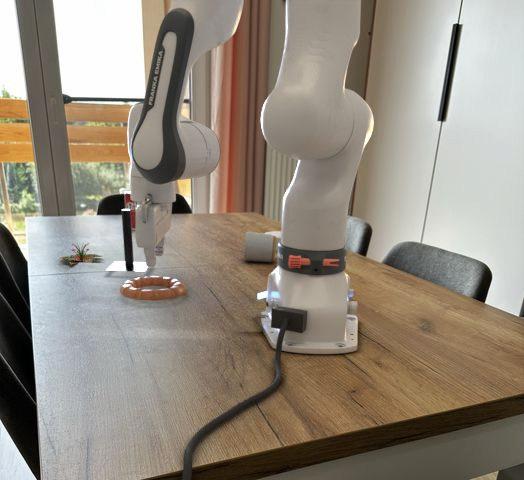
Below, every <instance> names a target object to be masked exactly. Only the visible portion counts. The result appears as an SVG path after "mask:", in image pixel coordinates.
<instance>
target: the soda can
mask: <svg viewBox="0 0 524 480" xmlns="http://www.w3.org/2000/svg"><path fill="white" fill-rule="evenodd" d="M123 195H124V197H123V198H124V209H129V210H131V226H132V231H136V209H137V207H138V206H137V205H138V204H137V202H135V201H132V200H131V195H130V190H127V191H124V194H123Z"/></svg>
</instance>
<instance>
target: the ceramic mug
mask: <svg viewBox="0 0 524 480" xmlns="http://www.w3.org/2000/svg"><path fill="white" fill-rule="evenodd" d="M245 234H246V235H245V240H244V250H243V260H244V261H245V262H257V263H258V262H259V263H273V262H275V260H276V256H277V251H276V245H277V238H276V236H273V235H270V234H265V233H261V232H254V231H247V232H246V233H245Z"/></svg>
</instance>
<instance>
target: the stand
mask: <svg viewBox="0 0 524 480" xmlns="http://www.w3.org/2000/svg"><path fill="white" fill-rule="evenodd" d="M121 224H122V225H121V227H122V237H123V238H122V240H123V257H124V261H118V260H117V261H116V260H114V262H112V263H111V265H109V266H108V267H107V268H106V269H105V271H108V272H135V273H136V272H138V273H146V271H147V270H148V269H149V267H147V266H146V261H145V262H144V261H135V260H134V244H133V243H134V242H133V230H132V226H131V210H129V209H125V208H123V209H121Z"/></svg>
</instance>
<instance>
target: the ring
mask: <svg viewBox="0 0 524 480" xmlns="http://www.w3.org/2000/svg"><path fill="white" fill-rule="evenodd" d="M152 286H153V287H164V288H161V289H142V288H144V287H152ZM187 290H188V288H187V285H186V284H185V283H184V282H182V281H180V280H179V279H177V278H173V277H169V276H159V275H158V276H156V275H150V276H149V275H148V276H140V277H135V278H131V279H129V280H126V281H124V283H123V284H122V285H121V286H120V288H119V293H120V294H121V295H122V296H123V297H125V298H129V299H134V300H137V301H163V300H171V299H175V298H178V297H181V296H184V295H185V294H186V293H187Z"/></svg>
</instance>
